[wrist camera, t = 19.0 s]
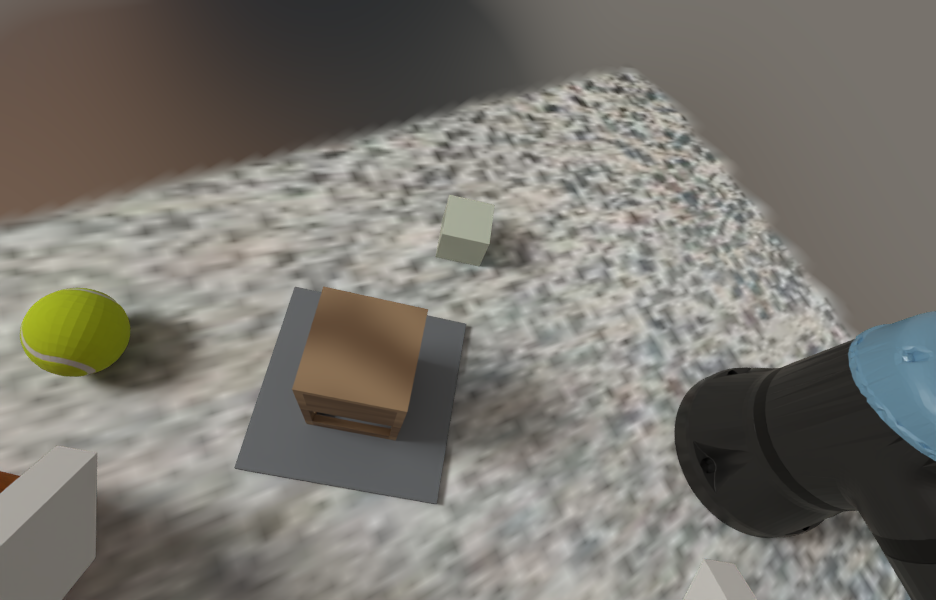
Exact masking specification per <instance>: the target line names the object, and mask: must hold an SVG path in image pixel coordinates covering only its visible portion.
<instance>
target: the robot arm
mask: <svg viewBox="0 0 936 600" xmlns="http://www.w3.org/2000/svg"><path fill="white" fill-rule="evenodd" d="M675 444H676V451H677V455H678V459H679V463H680V465H681V468H682V471H683V473H684V476H685V478H686V480H687V482H688V483H689V485H690V487H691V489H692V490H693V492H694V493H695V495H696V496H697V497H698V499H699V500H700V501H701V502H702V504H703V505H704V506H705V507H706V508H707V509H708V510H709V511H710V512H711V513H712V514H713V515H715V516H716V517H717V518H718V519H719V520H721V521H722V522H724V523H725V524H727V525H728V526H730V527H732V528H734V529H736V530H738V531H740V532H743V533H745V534H749V535H753V536H758V537H790V536H795V535H799V534H802V533H805V532H807V531H809V530H811V529H813V528H815V527H816V526H818V525H819V524H820V523H821V522H823V521H824V519H826V518H830V517H833V516H835V515H837V514H839V513H841V512H843V511H859V513H860V514H861V516H862V517H863V519H864V521H865V522H866V524H867V526H868V528H869V529H870V531H871V532H872V534H873V535H874V537H875V539H876V540H877V542H878V544H879V545H880V547H881V549H882V551H883V552H884V554H885V556H886V557H887V559H888V561H889V563H890V564H891V566H892V568H893V569H894V571H895V573H896V574H897V576H898V578H899V580H900V581H901V583H902V585H903V586H904V588H905V590H906V591H907V593H908V595H909V597H910V598H911V600H936V311H934V312H927V313H923V314H919V315H916V316H913V317H910V318H907V319H904V320H901V321H898V322H895V323H892V324H883V325H879V326H875V327H872V328H870V329H868V330H866V331H864V332H862V333H860V334H859V335H858V336H856V339H853V340H851V341H848V342H846V343H843V344H840V345H838V346H835V347H833V348H830V349H827V350H825V351H822V352H820V353H817V354H814V355H812V356H809V357H807V358H804V359H801V360H799V361H796V362H794V363H791V364H789V365H787V366H784V367H782V368H732V369H727V370H723V371H720V372H718V373H716V374H713V375H711V376H709V377H707V378H705V379H703V380H701V381H699V382H698V383H697V384H695V385H694V386H693V387H692V388H691V389H690V390H689V391H688V392H687V394H686V395H685V397H684V398H683V400H682V402H681V404H680V407H679V409H678V413H677V417H676V422H675ZM96 502H97V452H91V451H85V450H80V449H74V448H68V447H62V446H55V447H54V448H53V449H52V450H51V451H49V452H48V453H47V454H46V455H45V456H44V457H42V458H41V459H40V460H39V461H38V462H37V463H35V464H34V465H33V466H32V467H31V468H29V469H28V470H27V471H26V472H25V473H24V474H22V475H21V476H20V477H19V478H18V479H16V480H15V481H14V482H13V483H12V484H11V485H9V486H8V487H7V488H6V489H5V490H4V491H2V492H1V493H0V600H62V599H63V598H64V597H65V595H66V594H67V593H68V592H69V590H70V589H71V588H72V587H73V585H74V584H75V583H76V582H77V580H78V579H79V578H80V577H81V575H82V574H83V573H84V572H85V570H86V569H87V568H88V567H89V565H90V564H91V563H92V561H93V560H94V559H95V558H96ZM683 600H757V599H756V597H755V595H754V594H753V592H752V591H751V589H750V587H749V586H748V584H747V583H746V581H745V579H744V578H743V576H742V575H741V573H740V572H739V570H738V568H737V567H736V565H735V564H732V563H726V562H720V561H715V560H709V559H704V560H703V561H702V563H701V565H700V567H699V569H698V571H697V573H696V575H695V577H694V579H693V581H692V583H691V585H690V587H689V589H688V591H687V593H686V595H685V597H684V599H683Z"/></svg>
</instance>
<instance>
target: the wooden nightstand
mask: <svg viewBox="0 0 936 600" xmlns="http://www.w3.org/2000/svg"><path fill="white" fill-rule="evenodd" d="M427 312H428V309H424V308H419V307H415V306H410V305H405V304H401V303H396V302H392V301H387V300H383V299H378V298H373V297H369V296H364V295H360V294H355V293H351V292H346V291H341V290H337V289H332V288H328V287H323V290H322V293H321V296H320V299H319V303H318V306H317V309H316V313H315V316H314V319H313V322H312V326H311V329H310V332H309V335H308V339H307V342H306V345H305V348H304V352H303V355H302V358H301V362H300V365H299V368H298V371H297V375H296V378H295V381H294V384H293V388H292V391H293V393H294V395H295V398H296V400H297V403H298V405H299V407H300V410H301V412H302V415H303V417H304V419H305V422H306V424H310V425H315V426H321V427H326V428H331V429H337V430H342V431H347V432H352V433H358V434H363V435H368V436H374V437H379V438H384V439H390V440H395V441H396V438H397V436H398V433H399V431H400V429H401V426H402V424H403V421H404V419H405V416H406V414H407V411H408V406H409V401H410V396H411V391H412V387H413V382H414V377H415V372H416V367H417V362H418V357H419V352H420V347H421V342H422V337H423V332H424V327H425V322H426V317H427ZM317 412H319V413H324V414H330V415H335V416H340V417H345V418H351V419H356V420H361V421H366V422H371V423H377V424H382V425H387V426H391V429H390V428H385V427H379V426H374V425H369V424H364V423H359V422H353V421H348V420H343V419H338V418H332V417H327V416H322V415H317Z"/></svg>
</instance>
